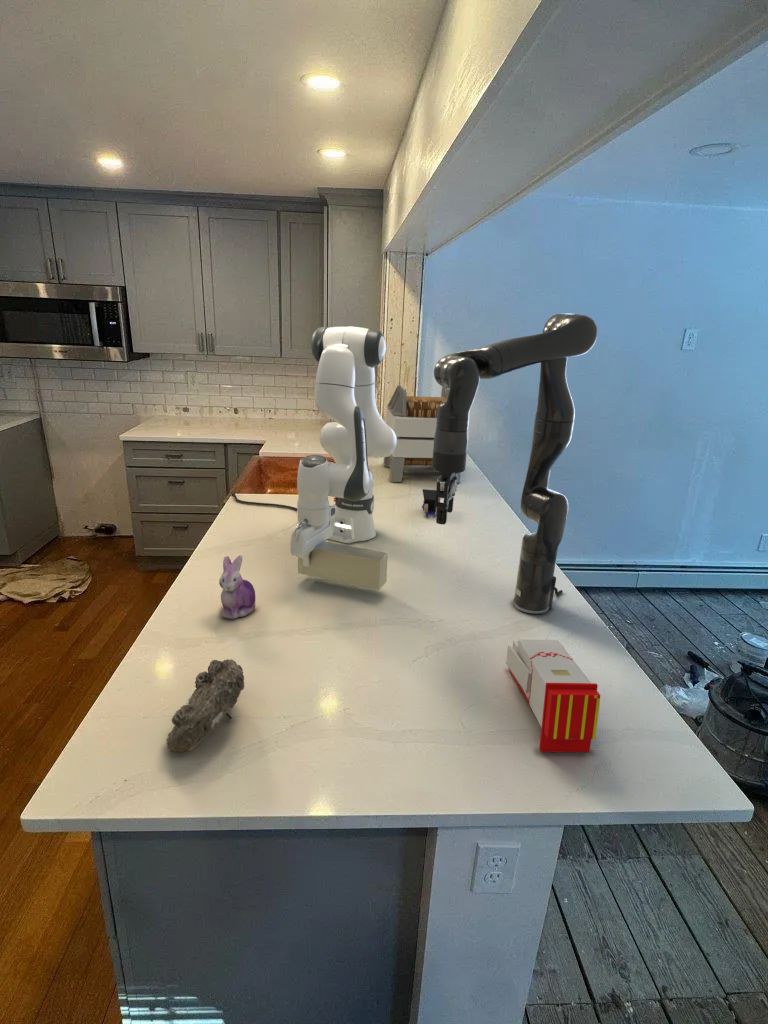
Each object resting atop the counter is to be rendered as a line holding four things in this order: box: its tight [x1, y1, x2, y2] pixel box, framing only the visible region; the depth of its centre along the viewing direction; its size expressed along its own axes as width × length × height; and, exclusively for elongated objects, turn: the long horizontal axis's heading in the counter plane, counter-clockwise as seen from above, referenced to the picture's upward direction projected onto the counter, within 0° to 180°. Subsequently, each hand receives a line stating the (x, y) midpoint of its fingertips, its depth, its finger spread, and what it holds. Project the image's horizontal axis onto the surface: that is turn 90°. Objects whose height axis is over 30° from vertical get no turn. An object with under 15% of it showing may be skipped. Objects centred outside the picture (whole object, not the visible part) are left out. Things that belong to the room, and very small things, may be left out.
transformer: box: [383, 384, 462, 484], centre depth 268 cm, size 34×33×41 cm
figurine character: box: [421, 488, 437, 518], centre depth 221 cm, size 7×8×15 cm
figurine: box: [218, 554, 256, 619], centre depth 143 cm, size 9×10×15 cm
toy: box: [505, 638, 602, 753], centre depth 114 cm, size 12×13×30 cm
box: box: [297, 540, 389, 591], centre depth 158 cm, size 25×6×9 cm, turn 70°
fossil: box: [166, 658, 245, 754], centre depth 106 cm, size 22×10×15 cm
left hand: (313, 560), depth 161 cm, fingers closed on box, 6 cm apart
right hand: (444, 517), depth 131 cm, fingers open, 8 cm apart
